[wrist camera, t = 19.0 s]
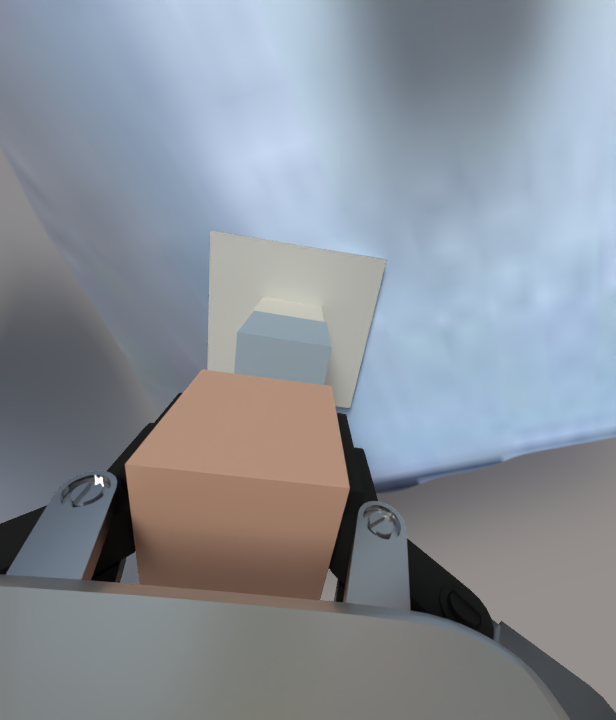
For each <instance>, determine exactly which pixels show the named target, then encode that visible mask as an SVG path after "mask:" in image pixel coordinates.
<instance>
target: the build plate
mask: <svg viewBox="0 0 616 720" xmlns="http://www.w3.org/2000/svg"><path fill="white" fill-rule="evenodd" d="M385 264H386V260H384V259H379V258H373V257H367V256H361V255H355V254H349V253H343V252H337V251H331V250H325V249H319V248H313V247H307V246H301V245H295V244H289V243H283V242H277V241H271V240H265V239H259V238H253V237H247V236H241V235H235V234H229V233H223V232H217V231H211V233H210V278H209V323H208V368H207V370H210V371H218V372H226V373H234V369H235V355H236V341H237V332H238V330H239V329H240V328H241V327H242V325H243V324H244V323H245V322H246V320H247V319H248V318H249V316H250V315H251V314H252V310H253V309H254V308H255V307H256V306H257V304H258V303H259V302H260V301H261V299H262V298H269V299H276V300H282V301H288V302H295V303H301V304H308V305H314V306H321V307H322V312H323V317H324V322H326V323H327V327H328V332H329V336H330V341H331V345H332V349H331V353H330V358H329V363H328V368H327V373H326V377H325V382H324V385H327V386H332V390H333V396H334V401H335V406H337V407H344V408H350V407H351V402H352V398H353V394H354V390H355V386H356V382H357V378H358V374H359V370H360V366H361V362H362V358H363V354H364V350H365V346H366V341H367V337H368V333H369V329H370V325H371V321H372V317H373V313H374V309H375V305H376V301H377V297H378V293H379V289H380V285H381V281H382V276H383V272H384V268H385Z"/></svg>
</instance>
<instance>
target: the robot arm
mask: <svg viewBox="0 0 616 720" xmlns="http://www.w3.org/2000/svg"><path fill="white" fill-rule="evenodd" d="M182 394H183V393H179V394H178V395H177V396H176V398H175V399H174V400H173V401H172V402H171V403H170V405H169V406H168V407H167V408H166V409H165V411H164V412H163V413H162V414H161V415H160V417H159V418H158V419H157V420H156V421H155V423H149V424H148V425H147V426H146V427H145V428H144V429H143V430H142V431H141V433H139V435H138V436H137V437H136V438H135V439H134V440H133V441H132V443H131V444H130V445H129V446H128V447H127V448H126V450H125V451H124V452H123V453H122V454H121V455H120V457H119V458H118V459H117V460H116V461H115V462H114V463H113V465H112V466H111V467H110V468H109V469H108V470H107V471H92V472H86V473H84V474H80V475H77V476H76V477H74V478H72V479H70V480H68V481H67V482H65V483H64V484H63V485H62V486H60V487H59V488H58V490H57V491H56V492H55V493H54V495H53V497H52V498H51V500H50V502H49V503H48V505H47V506H44V507H42V508H39V509H37V510H34V511H32V512H29V513H26V514H24V515H21V516H19V517H17V518H14V519H11V520H9V521H6V522H4V523H1V524H0V720H616V713H615V712H614V710H613V709H612V708H611V707H610V705H609V704H608V703H607V702H606V701H605V699H604V698H603V697H602V696H601V695H600V694H598V693H597V692H596V691H595V690H594V689H593V688H592V687H591V686H589V685H588V684H587V683H585V682H584V681H583V680H581V679H580V678H579V677H577V676H576V675H574V674H573V673H572V672H570V671H569V670H567V669H566V668H565V667H564V666H562V665H561V664H560V663H558V662H557V661H555V660H554V659H553V658H551V657H550V656H549V655H547V654H546V653H545V652H543V651H542V650H540V649H539V648H538V647H536V646H535V645H534V644H532V643H531V642H530V641H528V640H527V639H525V638H524V637H523V636H521V635H520V634H519V633H517V632H516V631H515V630H513V629H512V628H510V627H509V626H508V625H506V624H505V623H504V622H502V621H501V622H500V623H499V624H497V623H496V622H495V621H493V620H492V619H491V617H490V615H489V613H488V611H487V609H486V607H485V606H484V605H483V603H482V602H481V600H480V599H479V598H478V597H477V596H476V595H475V594H474V593H473V592H472V591H471V590H470V589H468V588H467V587H466V586H465V585H463V584H462V583H461V582H460V581H459V580H457V579H456V578H455V577H454V576H453V575H451V574H450V573H449V572H447V571H446V570H445V569H444V568H443V567H441V566H440V565H439V564H438V563H436V562H435V561H434V560H433V559H432V558H431V557H429V556H428V555H427V554H426V553H424V552H423V551H422V550H421V549H420V548H418V547H417V546H416V545H415V544H413V543H412V542H411V541H410V540H408V539H407V530H406V525H405V522H404V520H403V518H402V517H401V515H400V514H399V513H398V512H397V511H396V510H395V509H394V508H392V507H391V506H389V505H387V504H385V503H383V502H378V499H377V496H376V492H375V488H374V485H373V481H372V478H371V474H370V470H369V467H368V463H367V460H366V456H365V452H364V450H363V449H362V448H354V446H353V442H352V438H351V433H350V429H349V425H348V420H347V416H346V414H341V413H337V418H338V424H339V430H340V435H341V441H342V446H343V452H344V458H345V463H346V469H347V475H348V480H349V486H350V490H349V493H348V497H347V501H346V505H345V508H344V512H343V516H342V520H341V523H340V527H339V531H338V534H337V538H336V542H335V546H334V549H333V553H332V557H331V560H330V564H329V568H328V569H330V570H331V572H332V573H333V574H334V575H335V576H336V577H337V578H338V581H337V587H336V592H335V598H334V602H332V601H322V600H311V599H300V598H290V597H279V596H268V595H257V594H245V593H234V592H223V591H211V590H200V589H188V588H176V587H165V586H153V585H140V584H128V583H120V580H121V578H122V574H123V570H124V566H125V563H126V557H127V556H129V555H130V554H132V553H134V552H135V551H136V550H135V542H134V534H133V526H132V518H131V510H130V502H129V494H128V486H127V478H126V470H125V463H126V462H127V461H128V460H129V459H130V457H131V456H132V455H133V454H134V452H135V451H136V450H137V449H138V447H139V446H140V445H141V444H142V443H143V441H144V440H145V439H146V438H147V436H148V435H149V434H150V433H151V432H152V430H153V429H154V428H155V427H156V425H157V424H158V423H159V422H160V420H161V419H162V418H163V417H164V416H165V414H166V413H167V412H168V411H169V409H170V408H171V407H172V406H173V405H174V403H175V402H176V401H177V400H178V398H179V397H180V396H181V395H182Z"/></svg>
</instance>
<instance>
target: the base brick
mask: <svg viewBox="0 0 616 720" xmlns="http://www.w3.org/2000/svg"><path fill="white" fill-rule="evenodd" d="M253 311H260V312H266V313H272V314H278V315H285V316H291V317H297V318H303V319H309V320H316V321H322V322H324V317H323V312H322V307H321V306H314V305H308V304H301V303H295V302H288V301H282V300H276V299H269V298H262V299H261V301H260V302H259V303H258V304H257V306H256V307H255V308H254V309H253V310H252V313H253Z"/></svg>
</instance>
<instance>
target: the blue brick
mask: <svg viewBox="0 0 616 720" xmlns="http://www.w3.org/2000/svg"><path fill="white" fill-rule="evenodd" d="M331 349H332V345H331V341H330V336H329V332H328V327H327V323H326V322H322V321H316V320H309V319H303V318H297V317H291V316H285V315H278V314H272V313H266V312H260V311H253V313H252V314H251V315H250V316H249V318H248V319H247V320H246V322H245V323H244V324H243V325H242V327H241V328H240V329H239V330H238V332H237V341H236V355H235V369H234V374H241V375H249V376H257V377H265V378H273V379H280V380H288V381H296V382H304V383H312V384H320V385H324V382H325V377H326V373H327V368H328V363H329V358H330V353H331Z"/></svg>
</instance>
